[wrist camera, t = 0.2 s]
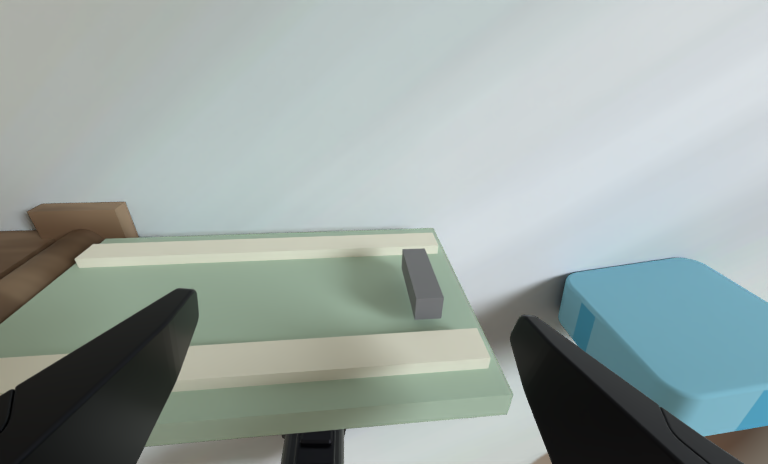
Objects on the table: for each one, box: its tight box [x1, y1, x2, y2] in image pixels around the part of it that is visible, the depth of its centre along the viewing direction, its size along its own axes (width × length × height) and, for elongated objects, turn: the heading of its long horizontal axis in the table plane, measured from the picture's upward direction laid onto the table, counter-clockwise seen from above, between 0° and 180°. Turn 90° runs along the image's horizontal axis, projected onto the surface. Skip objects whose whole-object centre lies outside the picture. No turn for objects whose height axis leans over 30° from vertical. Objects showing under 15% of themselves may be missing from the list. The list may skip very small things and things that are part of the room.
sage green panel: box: [0, 228, 513, 447], centre depth 17 cm, size 3×22×13 cm, turn 89°
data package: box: [558, 258, 768, 436], centre depth 25 cm, size 12×4×12 cm, turn 96°
